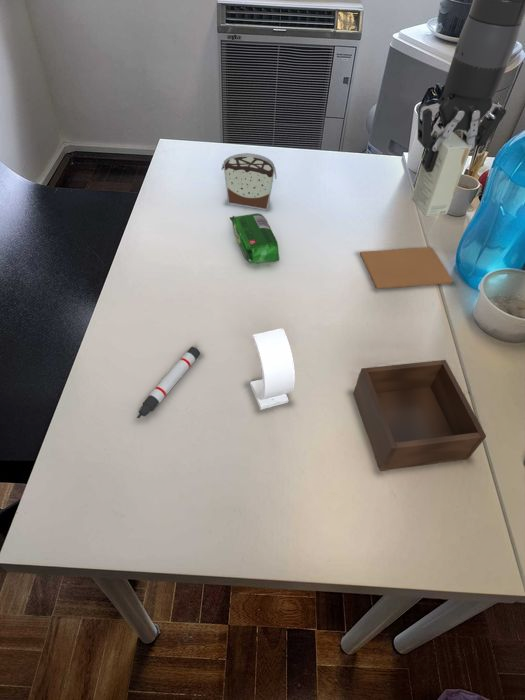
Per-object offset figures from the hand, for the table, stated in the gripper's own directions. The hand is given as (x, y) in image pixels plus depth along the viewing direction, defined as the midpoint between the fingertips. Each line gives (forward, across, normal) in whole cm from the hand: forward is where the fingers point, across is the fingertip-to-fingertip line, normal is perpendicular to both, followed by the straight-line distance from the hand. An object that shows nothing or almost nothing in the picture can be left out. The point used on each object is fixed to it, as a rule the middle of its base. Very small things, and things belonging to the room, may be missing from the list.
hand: (441, 168), depth 80 cm
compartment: (+22, -13, -35) cm, 44 cm away
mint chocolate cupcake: (+22, -28, +29) cm, 46 cm away
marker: (+22, -49, -23) cm, 59 cm away
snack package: (+22, -30, +11) cm, 39 cm away
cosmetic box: (+8, 0, 0) cm, 8 cm away
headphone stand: (+22, -33, -27) cm, 48 cm away
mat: (+22, 0, +1) cm, 22 cm away
